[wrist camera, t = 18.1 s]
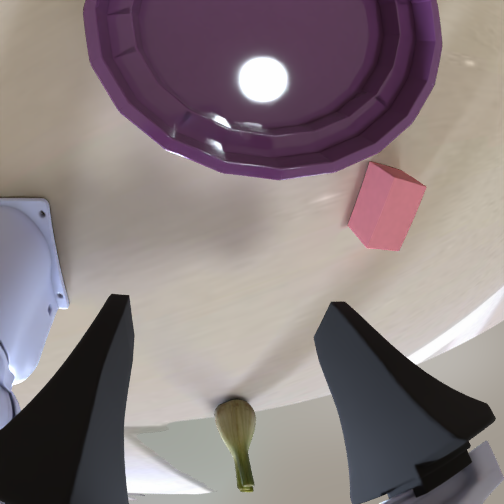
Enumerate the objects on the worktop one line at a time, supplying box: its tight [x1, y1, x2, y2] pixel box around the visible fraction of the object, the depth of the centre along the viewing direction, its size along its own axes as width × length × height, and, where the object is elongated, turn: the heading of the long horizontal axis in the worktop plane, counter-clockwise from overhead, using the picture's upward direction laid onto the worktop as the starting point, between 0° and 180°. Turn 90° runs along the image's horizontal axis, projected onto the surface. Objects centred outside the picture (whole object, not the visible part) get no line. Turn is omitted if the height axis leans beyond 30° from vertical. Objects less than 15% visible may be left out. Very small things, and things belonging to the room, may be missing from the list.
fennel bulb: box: [214, 399, 256, 492], centre depth 28 cm, size 6×5×12 cm
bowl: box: [83, 0, 442, 180], centre depth 10 cm, size 17×17×4 cm
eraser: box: [348, 161, 426, 251], centre depth 18 cm, size 5×3×3 cm, turn 169°
